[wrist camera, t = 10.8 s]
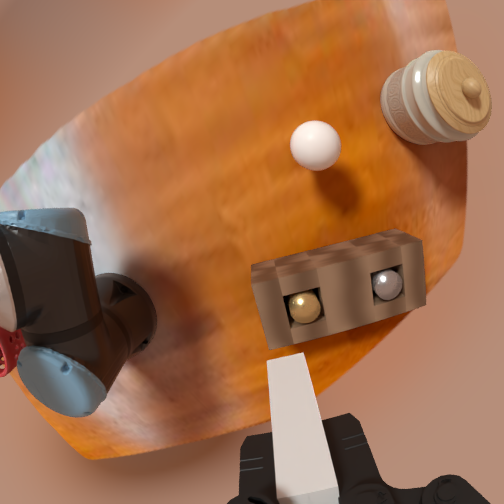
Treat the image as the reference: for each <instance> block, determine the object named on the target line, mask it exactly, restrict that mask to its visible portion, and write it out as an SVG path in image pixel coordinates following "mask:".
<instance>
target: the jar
mask: <svg viewBox="0 0 504 504" xmlns="http://www.w3.org/2000/svg"><path fill="white" fill-rule="evenodd" d="M380 100H381V108H382V112H383V115H384V117H385V119H386V121H387V123H388V125H389V126H390V127H391V129H392V130H393V131H394V132H395V133H396V134H397V135H398V136H400V137H401V138H403V139H404V140H406V141H409V142H412V143H415V144H420V145H426V144H433V143H435V142H453V141H466V140H469V139H471V138H473V137H474V136H475V135H476V134H477V133H478V132H479V131H481V130H482V129H483V128H484V127H485V126H486V125H487V123H488V121H489V119H490V116H491V109H492V102H491V95H490V91H489V88H488V85H487V83H486V81H485V79H484V77H483V75H482V74H481V72H480V71H479V69H478V68H477V67H476V66H475V65H474V64H473V63H472V62H471V61H470V60H469V59H468V58H466V57H465V56H463V55H461V54H459V53H457V52H453V51H442V50H432V51H428V52H426V53H424V54H422V55H421V56H420V57H419V58H416V59H414V60H413V61H411V62H410V63H409V64H408V65H407V66H405V67H404V68H401V69H399V70H397V71H395V72H394V73H392V74H391V75H390V76H389V77H388V79H387V80H386V82H385V83H384V85H383V88H382V91H381V99H380Z"/></svg>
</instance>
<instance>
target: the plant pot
mask: <svg viewBox="0 0 504 504" xmlns="http://www.w3.org/2000/svg"><path fill="white" fill-rule="evenodd" d="M25 347H26V345H25V342H24V339H23V336H22V332H21V329H18V330H16V331H14V332H10V331H8V330H6V329H4V328H2V327H0V365H2V364H5V368H4V369H0V377H4V376H6V375H7V374H8V373H10V372H11V371H12V370H13V369H14V368H15V367H16V366H17V360H18V356H19V355H20V351H21V350H22V349H23V348H25ZM2 357H4V361H2V360H1V358H2Z"/></svg>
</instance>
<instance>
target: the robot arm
mask: <svg viewBox="0 0 504 504" xmlns="http://www.w3.org/2000/svg"><path fill="white" fill-rule="evenodd" d="M90 245H91V241H90V240H89V237H88V231H87V225H86V220H85V217H84V215H83V213H82V212H81V211H79V210H78V209H75V208H47V209H31V210H18V211H4V212H0V327H2V328H4V329H6V330H8V331H10V332H14V331H16V330H18V329H21V332H22V336H23V339H24V342H25V345H26V347H25V348H23V349H22V350H21V351H20V355H19V356H18V360H17V369H18V373H19V375H20V378H21V380H22V381H23V383H24V385H25V386H26V388H27V389H28V390H29V391H30V392H31V394H32V395H33V396H34V397H35V398H36V399H38V400H39V401H40V402H41V403H43V404H44V405H46V406H47V407H48V408H50V409H52V410H53V411H55V412H58V413H60V414H63V415H66V416H70V417H85V416H88V415H90V414H92V413H93V412H94V411H95V410H96V409H97V408H98V406H99V405H100V403H101V402H102V401H104V400H105V398H106V396H107V393H108V391H109V390H110V388H111V386H112V384H113V383H114V381H115V379H116V377H117V376H118V374H119V372H120V370H121V369H122V367H123V365H124V364H125V362H126V360H127V359H129V358H131V357H133V356H135V355H137V354H138V353H140V352H141V351H143V350H144V349H145V348H146V347H147V346H148V344H149V343H150V341H151V339H152V338H153V336H154V333H155V330H156V325H157V318H156V312H155V308H154V306H153V303H152V301H151V299H150V298H149V296H148V295H147V293H146V292H145V291H144V290H143V289H142V288H141V287H140V286H139V285H138V284H137V283H136V282H134V281H133V280H131V279H129V278H128V277H125V276H123V275H120V274H115V273H104V274H100V275H97V276H95V273H94V267H93V261H92V255H91V249H90ZM267 369H268V382H269V395H270V408H271V421H272V432H270V433H264V434H258V435H252V436H247V437H246V439H245V441H244V442H243V444H242V446H241V449H240V479H239V495H238V496H237V497H235V498H233V499H231V500H230V501H229V502H228V503H227V504H490V503H489V502H488V501H487V500H486V499H485V498H484V497H483V496H482V495H481V494H480V493H478V491H476V490H475V489H474V488H473V487H472V486H471V485H470V484H469V483H468V482H467V481H466V480H465V479H463V478H461V477H460V476H457V475H444V476H440V477H438V478H436V479H434V480H432V481H431V482H430V483H429V484H428V485H427V486H426V487H421V488H412V489H398V488H393V487H391V486H389V485H387V484H386V483H385V482H384V481H383V480H382V478H381V476H380V474H379V471H378V468H377V466H376V463H375V460H374V458H373V455H372V453H371V450H370V448H369V445H368V443H367V439H366V437H365V435H364V432H363V429H362V427H361V424H360V422H359V420H357V419H356V418H355V417H354V416H353V415H351V414H350V413H347V414H344V415H340V416H337V417H333V418H329V419H326V420H321V416H320V413H319V409H318V405H317V401H316V397H315V394H314V390H313V386H312V382H311V379H310V375H309V371H308V367H307V364H306V360H305V356H304V353H298V354H294V355H290V356H286V357H282V358H277V359H273V360H268V361H267Z"/></svg>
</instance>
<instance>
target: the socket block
mask: <svg viewBox="0 0 504 504" xmlns="http://www.w3.org/2000/svg"><path fill="white" fill-rule="evenodd" d="M390 267H391V268H392V270H393V271H394V272H396V273H397V274H398V275H399V276H400V277H401V279H402V289H401V291H400V293H399V294H398V295H397V296H396V297H395V298H393V299H390V300H384V299H382V298H380V297H379V296H378V295H377V294H376V293H375V292H374V291H372V285H371V277H370V273H372V272H376V271H379V270H383V269H386V268H390ZM251 285H252V289H253V293H254V296H255V300H256V303H257V307H258V311H259V314H260V318H261V322H262V325H263V329H264V333H265V336H266V340H267V343H268V347H269V350H272V349H276V348H280V347H285V346H289V345H293V344H297V343H301V342H305V341H309V340H313V339H317V338H321V337H324V336H328V335H332V334H335V333H339V332H343V331H346V330H350V329H353V328H357V327H360V326H363V325H367V324H370V323H373V322H376V321H380V320H383V319H386V318H389V317H392V316H395V315H398V314H401V313H404V312H407V311H410V310H413V309H416V308H419V307H421V306H425V305H426V286H425V269H424V256H423V245H422V240H420V239H418V238H416V237H414V236H411V235H409V234H407V233H405V232H402V231H400V230H398V229H392V230H388V231H384V232H380V233H376V234H372V235H368V236H365V237H361V238H357V239H353V240H349V241H345V242H341V243H337V244H333V245H329V246H325V247H321V248H317V249H313V250H309V251H305V252H301V253H297V254H293V255H289V256H285V257H281V258H277V259H273V260H269V261H265V262H261V263H257V264H253V265H251ZM313 288H314V290H315V292H316V295H317V299H318V301H319V303H320V313H319V315H318V317H317V318H316V319H315V320H313V321H312V322H309V323H299V322H297V321H295V320H294V319H293V317H292V316H291V313H290V309H289V308H288V306H287V303H284V300H283V296H285V295H289V294H293V293H297V292H301V291H305V290H309V289H313Z"/></svg>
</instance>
